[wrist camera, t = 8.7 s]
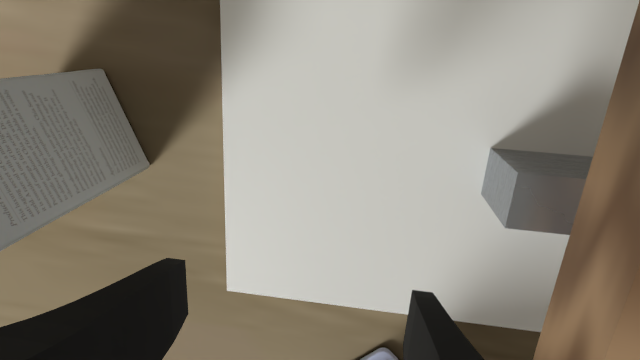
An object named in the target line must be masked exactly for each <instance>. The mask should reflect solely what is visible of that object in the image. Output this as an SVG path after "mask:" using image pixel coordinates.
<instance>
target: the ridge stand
mask: <svg viewBox="0 0 640 360" xmlns="http://www.w3.org/2000/svg"><path fill="white" fill-rule="evenodd" d="M638 4H639V0H220V22H221V63H222V104H223V146H224V187H225V229H226V270H227V291H234V292H242V293H249V294H257V295H264V296H272V297H279V298H287V299H294V300H302V301H309V302H317V303H324V304H332V305H340V306H347V307H355V308H362V309H370V310H377V311H385V312H392V313H400V314H407V315H408V312H409V306H410V300H411V294H412V290H418V291H425V292H433V293H434V295H435V296H436V297H437V299H438V300H439V302H440V303H441V305H442V306H443V307H444V309H445V310H446V312H447V313H448V314H449V316H450V317H451V319H452V320H453V321H460V322H468V323H475V324H483V325H490V326H498V327H506V328H513V329H521V330H528V331H536V332H541V330H542V327H543V324H544V320H545V317H546V314H547V310H548V307H549V303H550V300H551V297H552V293H553V290H554V287H555V283H556V280H557V276H558V273H559V270H560V266H561V263H562V260H563V256H564V253H565V250H566V246H567V243H568V239H569V236H570V233H571V229H572V226H573V223H574V219H575V216H576V213H577V209H578V206H579V202H580V199H581V196H582V192H583V189H584V186H585V182H586V179H587V175H588V172H589V169H590V165H591V162H592V159H593V155H594V152H595V149H596V145H597V142H598V138H599V135H600V132H601V128H602V125H603V122H604V118H605V115H606V111H607V108H608V105H609V101H610V98H611V95H612V91H613V88H614V85H615V81H616V78H617V74H618V71H619V68H620V64H621V61H622V58H623V54H624V51H625V47H626V44H627V41H628V37H629V34H630V31H631V27H632V24H633V21H634V17H635V14H636V10H637V7H638Z"/></svg>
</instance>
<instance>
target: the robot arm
mask: <svg viewBox="0 0 640 360" xmlns="http://www.w3.org/2000/svg"><path fill="white" fill-rule="evenodd" d="M187 315H188V302H187V285H186V268H185V260H179V259H171V258H166V259H163V260H161V261H159V262H156V263H154V264H152V265H150V266H148V267H146V268H144V269H142V270H140V271H138V272H136V273H134V274H132V275H130V276H128V277H126V278H124V279H122V280H120V281H117V282H115V283H113V284H111V285H109V286H107V287H105V288H103V289H101V290H98V291H96V292H94V293H92V294H90V295H87V296H85V297H83V298H81V299H78V300H76V301H74V302H72V303H69V304H67V305H64V306H62V307H59V308H57V309H54V310H51V311H49V312H46V313H43V314H40V315H38V316H35V317H32V318H29V319H26V320H23V321H20V322H16V323H13V324H10V325H7V326H3V327H0V360H162V359H163V357H164V356H165V354H166V353H167V351H168V350H169V348H170V347H171V345H172V344H173V342H174V341H175V339H176V337H177V335H178V333H179V331H180V329H181V327H182V325H183V323H184V321H185V319H186V317H187ZM403 359H404V360H484V359H483V357H482V356H481V355H480V354H479V353H478V352H477V351H476V349H475V348H474V347H473V346H472V345H471V343H470V342H469V341H468V340H467V338H466V337H465V336H464V335H463V333H462V332H461V331H460V329H459V328H458V327H457V325H456V324H455V323H454V321H453V320H452V319H451V317H450V316H449V314H448V313H447V312H446V310H445V309H444V307H443V306H442V305H441V303H440V302H439V300H438V299H437V297H436V296H435V295H434V293H433V292H425V291H418V290H412V294H411V300H410V306H409V312H408V318H407V324H406V330H405V336H404V342H403ZM360 360H399V359H398V358H397V357H396V356H395V355H394V354H393V353H392V352H391V351H390V350H389V349H387V348H379V349H377V350H375V351H374V352H372V353H370V354H368V355H367V356H365V357H363V358H362V359H360Z"/></svg>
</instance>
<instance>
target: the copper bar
mask: <svg viewBox="0 0 640 360" xmlns="http://www.w3.org/2000/svg"><path fill="white" fill-rule="evenodd" d="M533 360H640V0H639V4H638V7H637V10H636V14H635V17H634V21H633V24H632V27H631V31H630V34H629V37H628V41H627V44H626V47H625V51H624V54H623V58H622V61H621V64H620V68H619V71H618V74H617V78H616V81H615V85H614V88H613V91H612V95H611V98H610V101H609V105H608V108H607V111H606V115H605V118H604V122H603V125H602V128H601V132H600V135H599V138H598V142H597V145H596V149H595V152H594V155H593V159H592V162H591V165H590V169H589V172H588V175H587V179H586V182H585V186H584V189H583V192H582V196H581V199H580V202H579V206H578V209H577V213H576V216H575V219H574V223H573V226H572V229H571V233H570V236H569V239H568V243H567V246H566V250H565V253H564V256H563V260H562V263H561V266H560V270H559V273H558V276H557V280H556V283H555V287H554V290H553V293H552V297H551V300H550V303H549V307H548V310H547V314H546V317H545V320H544V324H543V327H542V330H541V334H540V337H539V340H538V344H537V347H536V351H535V354H534V357H533Z"/></svg>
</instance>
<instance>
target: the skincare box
mask: <svg viewBox="0 0 640 360" xmlns="http://www.w3.org/2000/svg"><path fill="white" fill-rule="evenodd" d="M148 167H149V162H148V160H147V159H146V157H145V155H144V153H143V151H142V148H141V146H140V144H139V142H138V140H137V138H136V136H135V134H134V132H133V130H132V128H131V126H130V124H129V122H128V120H127V118H126V116H125V114H124V112H123V110H122V108H121V105H120V103H119V101H118V99H117V97H116V95H115V93H114V91H113V89H112V87H111V85H110V83H109V81H108V79H107V77H106V74H105V72H104V70H103V69H90V70H80V71H72V72H61V73H53V74H44V75H32V76H22V77H13V78H3V79H0V251H1V250H3V249H5V248H7V247H8V246H10V245H12V244H14V243H15V242H17V241H19V240H21V239H22V238H24V237H26V236H28V235H29V234H31V233H33V232H35V231H36V230H38V229H40V228H42V227H44V226H45V225H47V224H49V223H51V222H52V221H54V220H56V219H58V218H60V217H62V216H63V215H65V214H67V213H69V212H70V211H72V210H74V209H76V208H78V207H79V206H81V205H83V204H85V203H87V202H88V201H90V200H92V199H94V198H96V197H97V196H99V195H101V194H103V193H105V192H106V191H108V190H110V189H112V188H114V187H115V186H117V185H119V184H121V183H122V182H124V181H126V180H128V179H130V178H131V177H133V176H135V175H137V174H139V173H140V172H142V171H144V170H145V169H147V168H148Z"/></svg>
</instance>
